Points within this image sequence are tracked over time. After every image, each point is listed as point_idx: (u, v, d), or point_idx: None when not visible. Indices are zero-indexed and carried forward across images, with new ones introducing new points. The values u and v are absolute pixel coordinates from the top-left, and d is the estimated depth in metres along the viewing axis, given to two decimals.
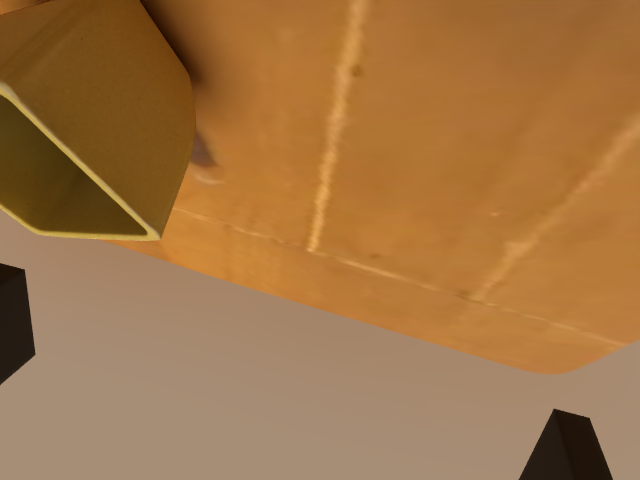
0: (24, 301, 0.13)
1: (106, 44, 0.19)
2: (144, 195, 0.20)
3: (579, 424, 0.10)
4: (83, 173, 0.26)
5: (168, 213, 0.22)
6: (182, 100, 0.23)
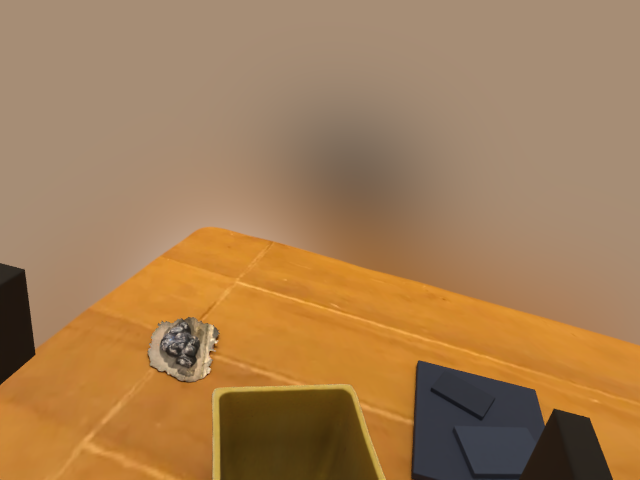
0: (24, 301, 0.13)
1: None
2: None
3: (579, 424, 0.10)
4: (219, 449, 0.30)
5: None
6: None
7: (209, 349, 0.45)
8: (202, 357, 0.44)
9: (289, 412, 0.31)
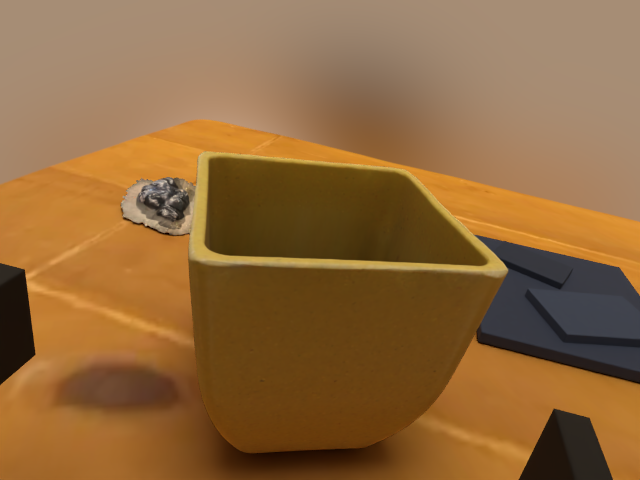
0: (24, 301, 0.13)
1: (402, 390, 0.15)
2: (268, 295, 0.12)
3: (579, 424, 0.10)
4: (209, 249, 0.20)
5: (203, 301, 0.12)
6: (258, 427, 0.16)
7: None
8: (191, 215, 0.34)
9: (314, 205, 0.21)
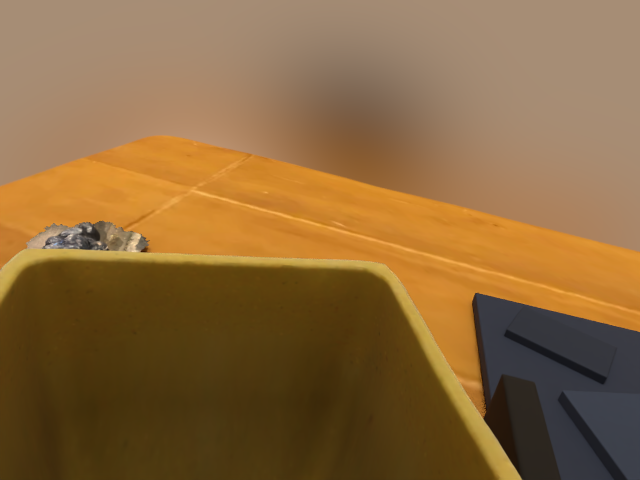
0: None
1: None
2: None
3: (524, 387, 0.11)
4: (43, 415, 0.11)
5: None
6: None
7: None
8: None
9: (231, 327, 0.12)
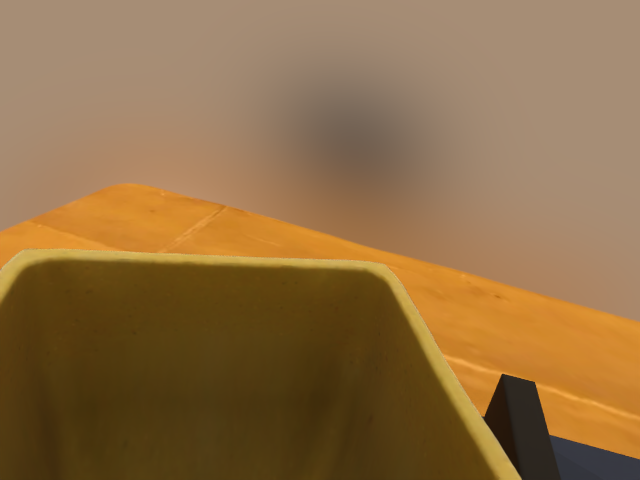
0: None
1: None
2: None
3: (524, 387, 0.11)
4: (43, 415, 0.11)
5: None
6: None
7: None
8: None
9: (231, 327, 0.12)
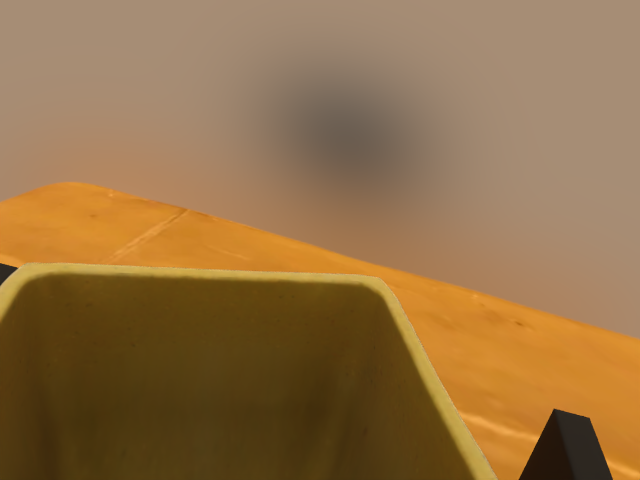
0: None
1: None
2: None
3: (579, 424, 0.10)
4: (43, 426, 0.12)
5: None
6: None
7: None
8: None
9: (228, 340, 0.12)
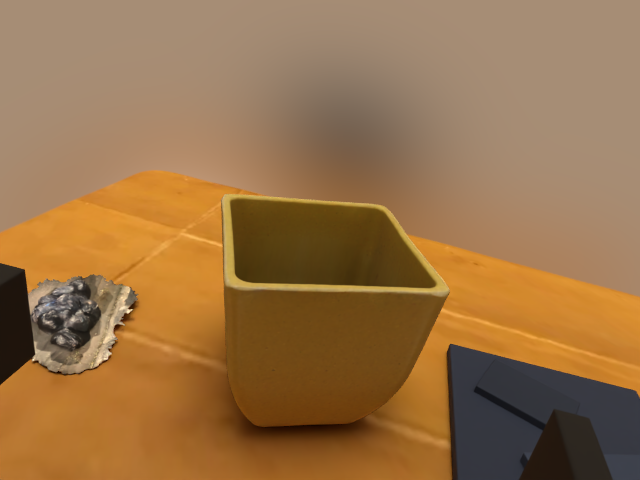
0: (24, 301, 0.13)
1: (376, 378, 0.21)
2: (279, 309, 0.18)
3: (579, 424, 0.10)
4: None
5: (234, 314, 0.18)
6: (269, 405, 0.21)
7: (115, 322, 0.28)
8: (100, 335, 0.27)
9: (311, 234, 0.26)
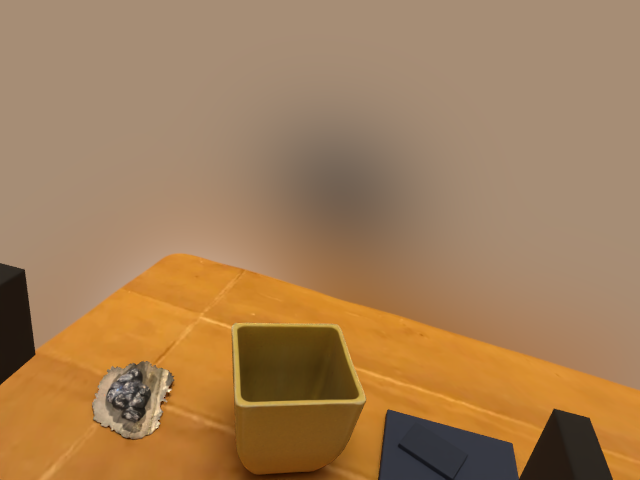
0: (24, 300, 0.13)
1: (325, 447, 0.35)
2: (265, 415, 0.32)
3: (579, 424, 0.10)
4: None
5: (240, 418, 0.32)
6: (261, 464, 0.35)
7: (160, 399, 0.41)
8: (152, 409, 0.41)
9: (290, 344, 0.40)
